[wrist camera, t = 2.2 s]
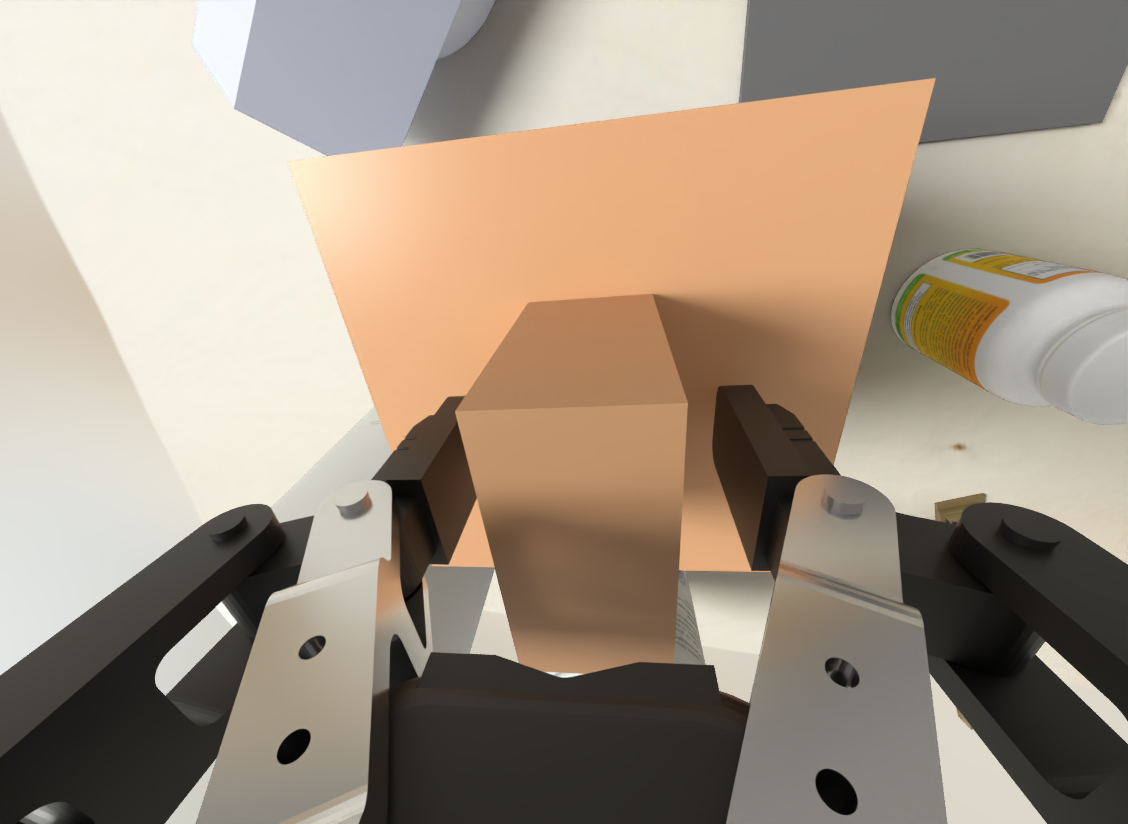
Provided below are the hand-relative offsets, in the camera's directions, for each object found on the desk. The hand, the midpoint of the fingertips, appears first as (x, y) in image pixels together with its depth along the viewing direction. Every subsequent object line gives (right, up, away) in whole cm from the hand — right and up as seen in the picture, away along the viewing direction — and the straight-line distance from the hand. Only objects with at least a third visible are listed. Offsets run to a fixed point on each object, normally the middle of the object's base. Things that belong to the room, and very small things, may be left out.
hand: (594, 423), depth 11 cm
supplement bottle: (+20, +6, +12) cm, 24 cm away
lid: (0, +2, +3) cm, 3 cm away
